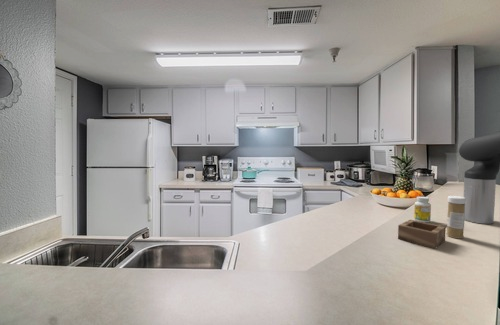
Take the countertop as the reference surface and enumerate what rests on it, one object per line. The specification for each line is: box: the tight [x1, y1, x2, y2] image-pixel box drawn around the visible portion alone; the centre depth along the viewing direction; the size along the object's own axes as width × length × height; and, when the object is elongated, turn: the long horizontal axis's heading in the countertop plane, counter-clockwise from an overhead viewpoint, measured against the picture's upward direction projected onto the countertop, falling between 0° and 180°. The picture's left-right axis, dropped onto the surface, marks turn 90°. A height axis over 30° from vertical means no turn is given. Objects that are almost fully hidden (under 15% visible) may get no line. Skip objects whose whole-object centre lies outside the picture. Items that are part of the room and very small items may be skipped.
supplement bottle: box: [413, 196, 432, 223], centre depth 99 cm, size 5×5×10 cm
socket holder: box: [397, 219, 447, 249], centre depth 79 cm, size 10×10×4 cm
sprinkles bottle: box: [445, 195, 466, 239], centre depth 81 cm, size 5×5×14 cm
